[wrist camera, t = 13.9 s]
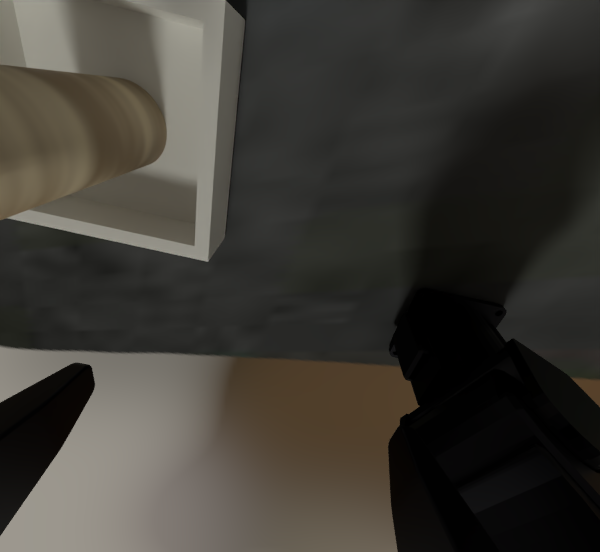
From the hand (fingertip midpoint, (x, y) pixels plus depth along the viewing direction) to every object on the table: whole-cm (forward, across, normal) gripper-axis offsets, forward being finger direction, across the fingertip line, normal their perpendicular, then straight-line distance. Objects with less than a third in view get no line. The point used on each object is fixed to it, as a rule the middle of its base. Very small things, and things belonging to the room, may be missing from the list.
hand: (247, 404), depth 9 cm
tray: (+13, +10, -4) cm, 17 cm away
